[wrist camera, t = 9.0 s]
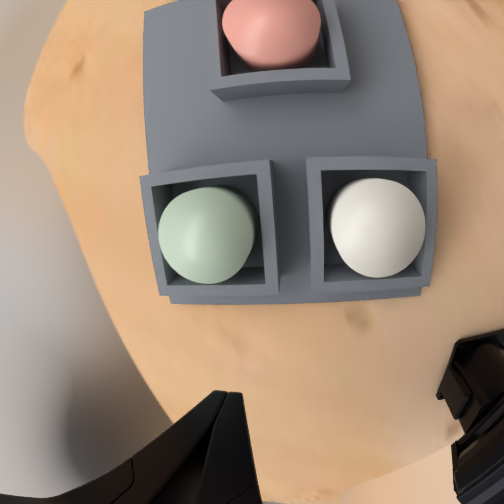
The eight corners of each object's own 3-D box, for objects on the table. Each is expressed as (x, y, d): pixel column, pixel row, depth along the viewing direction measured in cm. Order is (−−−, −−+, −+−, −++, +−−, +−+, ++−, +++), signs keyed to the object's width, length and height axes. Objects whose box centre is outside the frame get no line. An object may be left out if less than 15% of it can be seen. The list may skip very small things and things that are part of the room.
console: (388, -4, 10) (403, -30, 7) (414, 288, 16) (436, 314, 13) (150, 17, 13) (126, -4, 10) (176, 296, 19) (154, 323, 15)
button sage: (255, 180, 14) (245, 184, 12) (261, 261, 16) (254, 282, 13) (177, 189, 15) (152, 195, 12) (187, 263, 16) (166, 284, 14)
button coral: (310, 11, 11) (312, -17, 8) (321, 74, 12) (327, 54, 9) (232, 17, 12) (219, -8, 9) (238, 81, 13) (225, 62, 10)
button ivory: (402, 177, 13) (426, 180, 10) (401, 255, 14) (421, 274, 12) (324, 177, 14) (332, 180, 11) (327, 258, 15) (334, 279, 12)
